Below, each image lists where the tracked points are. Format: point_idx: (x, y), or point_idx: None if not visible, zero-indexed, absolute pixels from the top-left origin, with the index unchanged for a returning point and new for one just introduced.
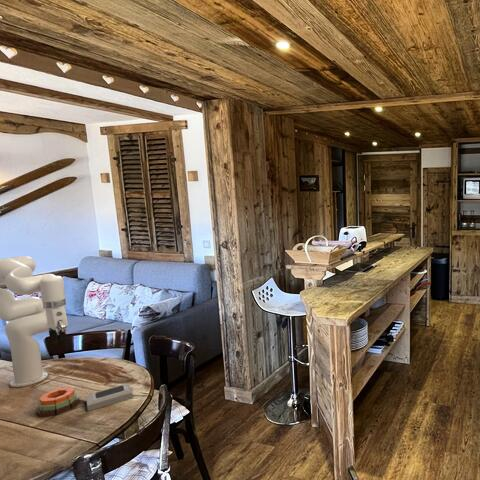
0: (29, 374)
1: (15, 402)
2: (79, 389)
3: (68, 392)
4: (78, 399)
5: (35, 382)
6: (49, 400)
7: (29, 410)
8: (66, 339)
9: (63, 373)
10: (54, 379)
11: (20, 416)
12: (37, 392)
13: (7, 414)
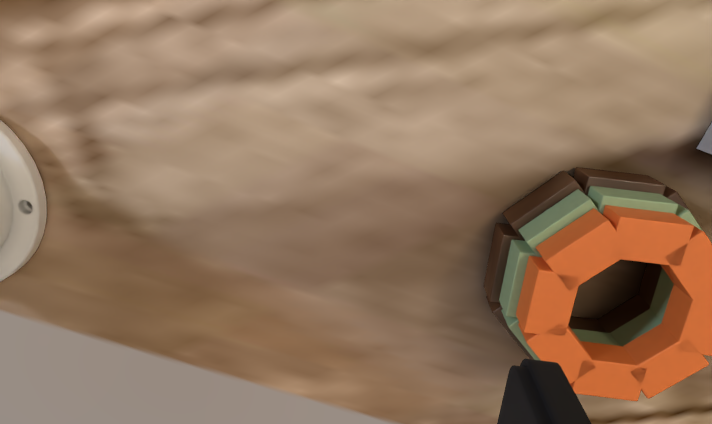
0: None
1: (257, 349)
2: (445, 83)
3: (695, 267)
4: (658, 182)
5: (42, 194)
6: (682, 377)
7: (451, 353)
8: (566, 393)
9: (6, 10)
10: (79, 97)
11: (480, 397)
12: (220, 240)
13: (385, 416)
